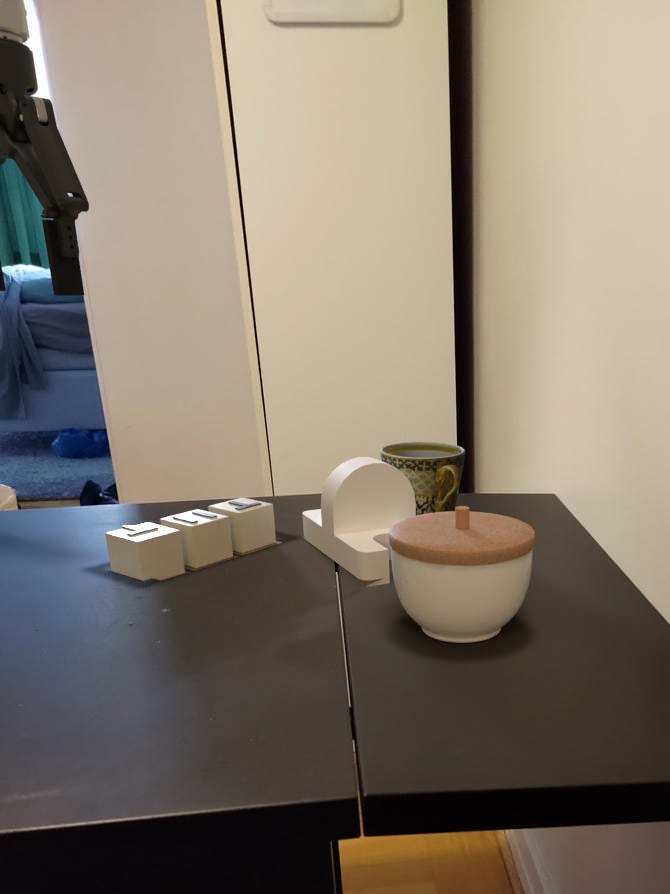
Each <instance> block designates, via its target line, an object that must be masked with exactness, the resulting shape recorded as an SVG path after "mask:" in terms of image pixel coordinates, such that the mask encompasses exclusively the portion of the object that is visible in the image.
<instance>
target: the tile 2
mask: <svg viewBox="0 0 670 894" xmlns="http://www.w3.org/2000/svg"><path fill="white" fill-rule="evenodd" d="M207 509H208V512H212V513H216V514H221V515H225V516H229V520H230V530H231V540H232V550H233V551H237V552H241V553H244V552H248V551H251V550H254V549H257V548H260V547H263V546H267V545H270V544H273V543H276V541H277V538H276V525H275V511H274V503H270V502H266V501H261V500H256V499H252V498H248V497H246V498H245V497H238V498H235V499H234V498H233V499H230V500H227V501H222V502H219V503H218V502H217V503H215V504H211V505H208V506H207Z"/></svg>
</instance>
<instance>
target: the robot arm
mask: <svg viewBox="0 0 670 894" xmlns="http://www.w3.org/2000/svg"><path fill="white" fill-rule="evenodd" d="M27 13H28V12H27V8H26V6H25V1H24V0H0V166H2V165H3V164H5V163H6V161H7V160H13V161H14V163H15V164H16V166H17V167H18V169H19V170H20V172H21V174H22V176H23V177H24V180H25V181H26V182H27V184H28V186H29V187H30V189H31V190H32V192H33V194H34V196H35V197H36V198H37V200H38V202H39V204H40V205H41V207H42V211H41V214H40V217H41V218H42V219H41V222H42V229H43V237H44V243H45V246H46V247H45V249H46V255H47V260H48V267H49V272H50V279H51V285H52V291H53V296H57V297H58V296H59V297H63V296H65V297H66V296H68V297H69V296H72V297H73V296H85V289H84V282H83V277H82V275H83V274H82V269H81V262H80V247H79V241H78V232H77V226H76V220H78V218H79V215H80V214H81V213H87V212H89V210H90V203H89V200H88V197H87V195H86V193H85V191H84V188H83V185H82V183H81V181H80V178H79V176H78V174H77V171H76V169H75V166H74V164H73V161H72V159H71V157H70V154H69V152H68V150H67V147H66V144H65V142H64V139H63V138H62V135H61V132H60V131H59V128H58V125H57V120H56V115H55V110H54V106H53V102H52V101H51V99H49V98H44V97H39V96H34V95H36V94H37V93H38V91H39V85H38V78H37V72H36V65H35V60H34V52H33V51H32V50H31V49H30V47H29V46H27V44H24V43H27V42H28V40H29V39H30V37H31V35H30V31H29V25H28V19H27V15H28V14H27ZM69 194H71V195H72V196H70V195H69ZM0 292H7V288H6V283H5V277H4V272H3V266H2V262H1V260H0Z"/></svg>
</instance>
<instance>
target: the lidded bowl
mask: <svg viewBox="0 0 670 894" xmlns="http://www.w3.org/2000/svg"><path fill="white" fill-rule="evenodd" d="M470 509H471V508H470V506H466V505H458V506H455V511H450V512H435V513H428V514H421V515H417V516H413V517H409V518H406V519H403V520H401V521H399V522H397V523H395V524H394V525H393V526H392V527H391V528H390V531H389V543H390V546H391V560H390V561H391V571H392V577H393V584H394V588H395V592H396V595H397V597H398V600H399V602H400V604H401V606H402V608H403V609H404V611H405V612H406V613H407V615H408V616H409V617H410V618H411V619H412V620H413V621H414V622H415V623H416V624H417V625H418V626H420V627H421V631H422V632H423V633H424V634H425V635H427V636H428V637H430V638H432V639H434V640H437V641H442V642H446V643H447V642H448V643H461V644H462V643H463V644H464V643H465V644H467V643H476V642H482V641H486V640H489V639H492V638H493V637H496V636H497V635H499V633H500V632H501V630H502V627H504V626H505V625H507V624H508V623H509V622H510V621H511V620H512V619H513V618H514V617H515V616H516V614H517V613H518V611H519V610H520V609H521V607H522V605H523V603H524V600H525V599H526V596H527V593H528V591H529V586H530V583H531V576H532V573H533V572H532V571H533V561H534V549H535V546H536V531H535V529H533V527H532V526H531V525H530V524H528V523H527V522H525V521H523V520H520V519H518V518H515V517H512V516H508V515H502V514H498V513H492V512H484V511H483V512H482V511H471V510H470Z"/></svg>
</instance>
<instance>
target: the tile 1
mask: <svg viewBox="0 0 670 894" xmlns="http://www.w3.org/2000/svg"><path fill="white" fill-rule="evenodd" d="M105 539H106V545H107V552H108V558H109V559H108V560H109V565H110V571H111V572H113V573H116V574H120V575H123V576H126V577H130V578H133V579H136V580H140V581H147V580H150V579H154V580H157V581H161V580H164V579H167V578H170V577H173V576H176V575H179V574H183V573H185V571H186V569H185V568H184V560H183V552H182V544H181V536H180V530H177V529H173V528H169V527H165V526H161V524H157V523H153V522H149V521H147V522H144V523H140V524H135V525H130V524H125V525H122V526H121V528H119V529H116V530H112V531H107V532H105ZM161 582H162V581H161Z"/></svg>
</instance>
